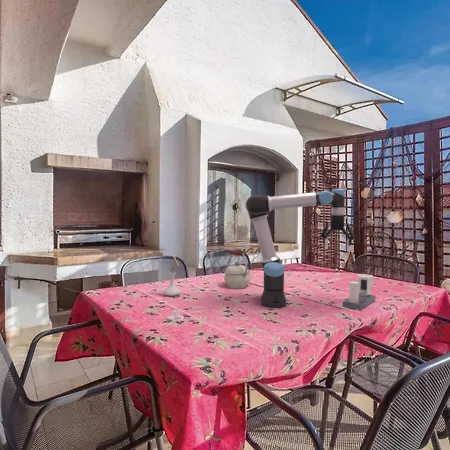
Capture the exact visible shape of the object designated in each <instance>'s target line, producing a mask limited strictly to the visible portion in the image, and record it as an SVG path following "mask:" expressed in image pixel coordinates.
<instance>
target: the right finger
mask: <svg viewBox="0 0 450 450" xmlns="http://www.w3.org/2000/svg"><path fill="white" fill-rule="evenodd" d="M348 288H349V290H348V293H349V294H348V298H349V302H351V303H356V304H357V303H359V282H358V281H351V282H349V287H348Z"/></svg>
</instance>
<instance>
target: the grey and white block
mask: <svg viewBox="0 0 450 450" xmlns="http://www.w3.org/2000/svg"><path fill="white" fill-rule="evenodd" d="M369 285H370V278H369V277H361V285H360V293H359V303H357V304H356V303H351V302H349V297H348V298H347V299H344V300H343V301H342V307H343V308H346V307H347V309H351V308H352V309H353V310H356V309H357V311H362V310H363V309H365V308H367V307H368V306H369V305H371V304H372V303H374V302H375V301H376V295H374V294H370V295H369ZM367 305H368V306H367Z"/></svg>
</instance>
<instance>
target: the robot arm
mask: <svg viewBox="0 0 450 450" xmlns="http://www.w3.org/2000/svg"><path fill="white" fill-rule="evenodd" d="M323 205H325V206H327V205H328V206H331V216H330V217H331V218H330V222H325V226H324V228H323V230H322V232H321V234H320V238H322V239H323V244H324V250H329V249H328V248H329V238H328V237H329V236H330V235H331V234H332V232H333V231H341V232H342V233H343V234H344V236H345V237H346V238H347V240H346V252H351V246H352V240H355V239H356V237H355V235H354V232H353V230H352V228H351V223H349V222H347V223H345V214H346V213H345V212H346V211H345V209H346V208H345V207H346V190H345V189H344V188H332V190H331V191H330V190H329V191H328V190H322V191H314V192H304V193H293V194H285V195H275V196H274V195H273V196H270V195H267V194H266V195H258V194H253V195H251V196H249V197H248V198H247V200H246V201H245V209H246V211H247V213H248V217H249V220H250V221H252V224H253V226H254V229H255V234H256V237H257V242H258V245H259V249H260V253H261V256H262V259H261V262H260V263H261V267H262V271H263V292H262V294H261V298H260V299H259V300H260V303H259V304H260V305H261V306H263V307H267V308H276V309H277V308H278V309H280V308H284V307H286V306H287V305H288V303H287V297H286V294H285V265H284V264H283V263H282V261H281V258H280V256H278V255H277V253H276V250H275V249H276V248H275V245H274V242H273V238H272V233H271V230H270V226H269V223H268V219H267V217H268V216H269V213H271V211H273V210H283V209H293V208H303V207H310V206H311V207H312V206H323ZM329 228H330V229H329ZM345 228H346V229H345ZM328 229H329V230H328Z"/></svg>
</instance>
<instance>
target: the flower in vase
mask: <svg viewBox="0 0 450 450" xmlns="http://www.w3.org/2000/svg"><path fill="white" fill-rule="evenodd" d="M172 256H173V259H174V261H173V264H172V266H171V269H170V270H169V271H170V272H169V273H167V275H168V276H169V285H168V286H167V287H165V289H164V290H162V294H164V295H165V296H172V297H174V296H178V295H180V294H181V293H182V291H181V289H180V288H178V287H177V286H176V285H175V276H176V274H177V273H176V272H173V271H175V268H174V264H175V263H176V265H177V266H178V267H180V263H179V260H177V258H176V256H175V255H174V254H173V255H172Z"/></svg>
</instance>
